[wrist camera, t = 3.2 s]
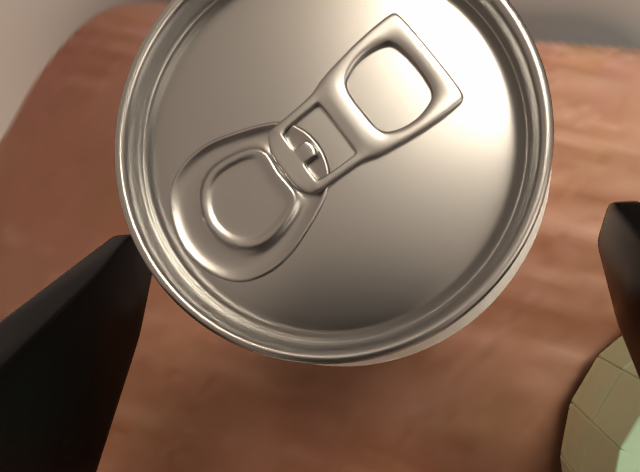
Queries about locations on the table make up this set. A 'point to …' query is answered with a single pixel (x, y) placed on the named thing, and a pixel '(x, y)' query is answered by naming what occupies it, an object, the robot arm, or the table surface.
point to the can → (335, 168)
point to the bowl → (605, 417)
